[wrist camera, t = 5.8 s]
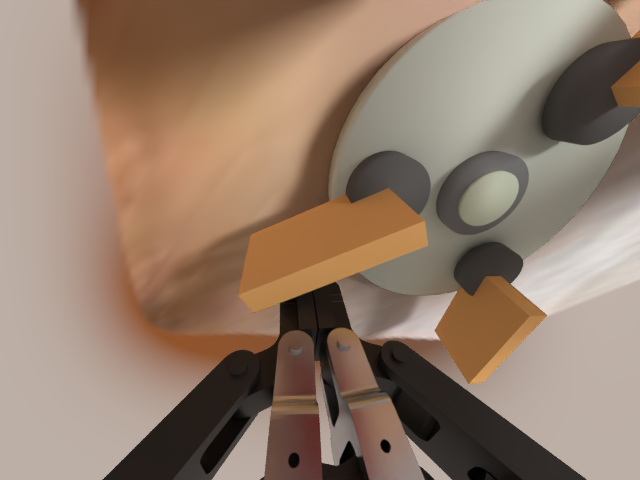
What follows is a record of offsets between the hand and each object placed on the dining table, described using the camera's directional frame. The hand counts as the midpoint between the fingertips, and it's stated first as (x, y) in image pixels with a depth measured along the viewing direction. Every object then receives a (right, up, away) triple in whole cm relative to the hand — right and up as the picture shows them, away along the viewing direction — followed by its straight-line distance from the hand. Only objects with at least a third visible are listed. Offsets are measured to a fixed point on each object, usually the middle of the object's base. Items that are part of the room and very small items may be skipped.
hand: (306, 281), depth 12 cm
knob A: (+1, +4, 0) cm, 4 cm away
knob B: (+12, -2, +6) cm, 14 cm away
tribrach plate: (+10, +6, +3) cm, 12 cm away
